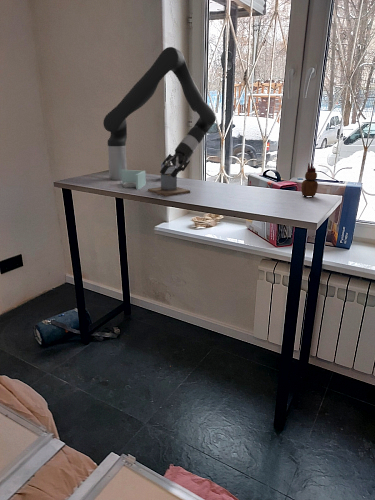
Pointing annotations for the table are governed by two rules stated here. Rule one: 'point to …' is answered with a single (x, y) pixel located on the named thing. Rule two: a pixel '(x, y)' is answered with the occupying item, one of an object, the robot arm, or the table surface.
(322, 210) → the table surface
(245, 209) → the table surface
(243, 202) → the table surface
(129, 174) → the l-shaped corner panel
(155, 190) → the post stand
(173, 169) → the medicine box
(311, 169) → the wooden figurine
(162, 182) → the collar
